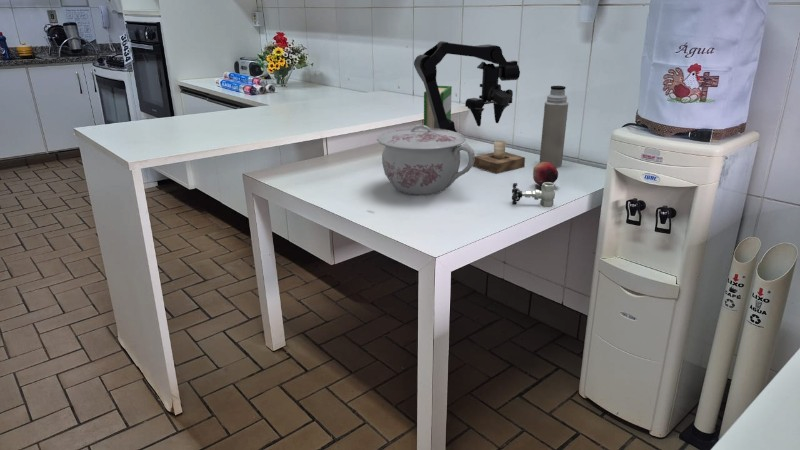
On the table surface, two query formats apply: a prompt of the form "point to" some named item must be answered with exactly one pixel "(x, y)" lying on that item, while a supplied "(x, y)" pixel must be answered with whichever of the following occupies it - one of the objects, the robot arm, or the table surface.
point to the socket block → (499, 162)
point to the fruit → (545, 173)
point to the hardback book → (446, 100)
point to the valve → (536, 194)
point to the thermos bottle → (554, 126)
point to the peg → (499, 150)
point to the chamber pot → (423, 158)
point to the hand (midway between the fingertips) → (488, 124)
